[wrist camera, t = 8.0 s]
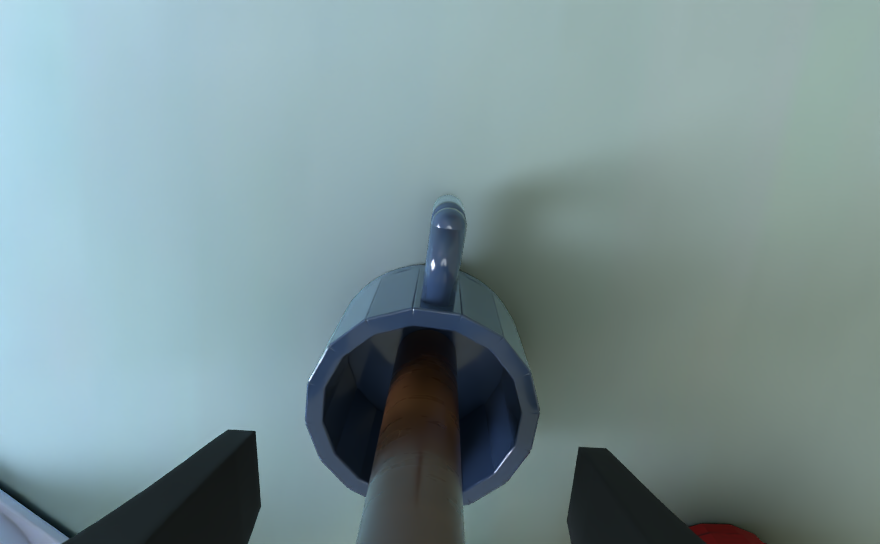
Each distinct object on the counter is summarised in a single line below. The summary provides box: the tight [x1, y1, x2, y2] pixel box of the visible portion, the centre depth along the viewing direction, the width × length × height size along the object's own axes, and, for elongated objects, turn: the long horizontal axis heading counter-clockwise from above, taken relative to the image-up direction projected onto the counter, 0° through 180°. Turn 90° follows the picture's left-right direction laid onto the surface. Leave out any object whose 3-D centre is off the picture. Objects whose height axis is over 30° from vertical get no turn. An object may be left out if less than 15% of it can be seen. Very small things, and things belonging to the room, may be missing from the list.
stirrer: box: [356, 330, 465, 544], centre depth 11 cm, size 2×2×10 cm
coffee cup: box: [305, 195, 540, 506], centre depth 14 cm, size 9×6×4 cm
